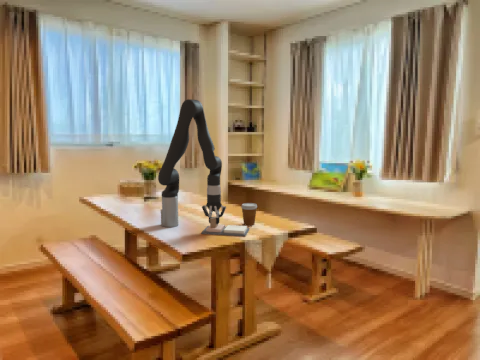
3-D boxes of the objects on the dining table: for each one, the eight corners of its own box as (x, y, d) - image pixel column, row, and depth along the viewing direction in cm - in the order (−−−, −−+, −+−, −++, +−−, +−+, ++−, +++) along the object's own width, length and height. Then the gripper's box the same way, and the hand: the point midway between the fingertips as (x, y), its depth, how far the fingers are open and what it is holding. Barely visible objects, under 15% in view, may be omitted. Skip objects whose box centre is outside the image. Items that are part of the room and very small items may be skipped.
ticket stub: (206, 231, 190) (206, 219, 189) (211, 226, 200) (211, 215, 199) (220, 232, 189) (220, 220, 188) (225, 227, 198) (225, 216, 197)
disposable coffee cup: (247, 227, 202) (247, 206, 201) (237, 223, 210) (238, 204, 208) (260, 224, 208) (260, 204, 206) (250, 221, 216) (250, 202, 214)
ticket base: (201, 233, 189) (201, 229, 189) (208, 227, 202) (208, 223, 202) (245, 236, 185) (245, 231, 184) (249, 229, 197) (249, 225, 197)
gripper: (199, 193, 189) (199, 225, 192) (224, 194, 187) (225, 226, 189) (203, 191, 197) (203, 221, 199) (228, 192, 194) (228, 222, 196)
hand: (214, 223), depth 194 cm, fingers closed on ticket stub, 3 cm apart
